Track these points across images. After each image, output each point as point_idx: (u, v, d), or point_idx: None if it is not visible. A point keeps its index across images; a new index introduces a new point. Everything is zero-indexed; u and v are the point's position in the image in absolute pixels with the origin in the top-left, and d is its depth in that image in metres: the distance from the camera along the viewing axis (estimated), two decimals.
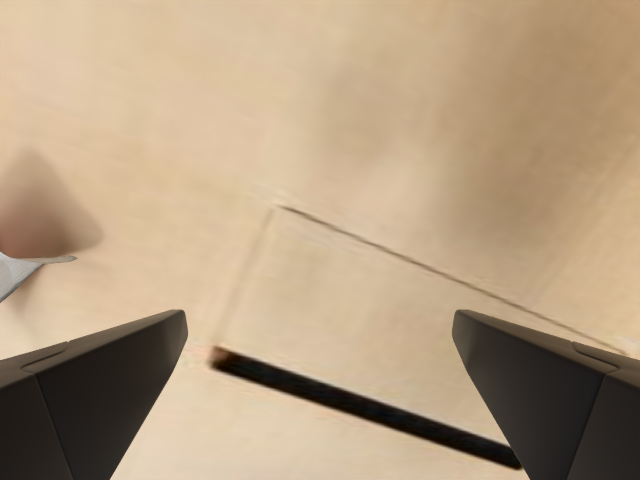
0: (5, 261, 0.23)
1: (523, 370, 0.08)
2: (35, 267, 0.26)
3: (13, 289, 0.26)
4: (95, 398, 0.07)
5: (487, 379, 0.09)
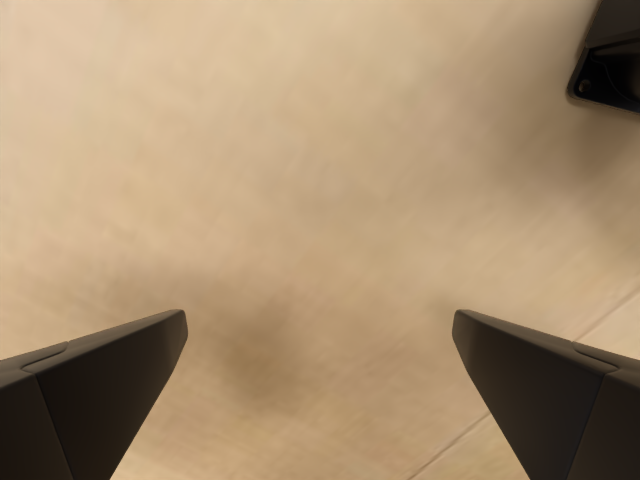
0: None
1: (523, 370, 0.08)
2: None
3: None
4: (95, 398, 0.07)
5: (487, 379, 0.09)
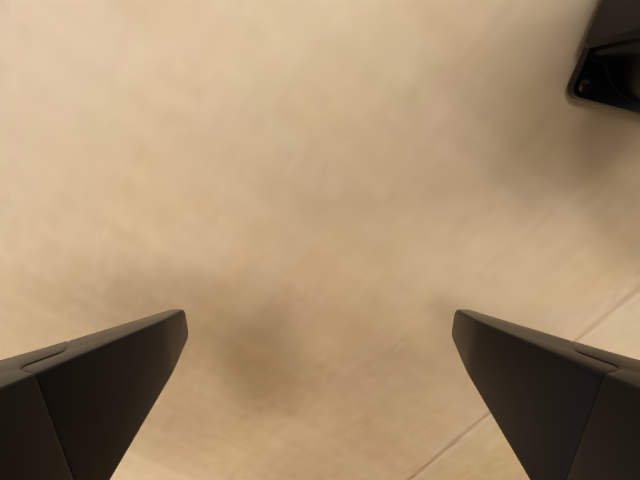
0: None
1: (523, 370, 0.08)
2: None
3: None
4: (95, 398, 0.07)
5: (487, 379, 0.09)
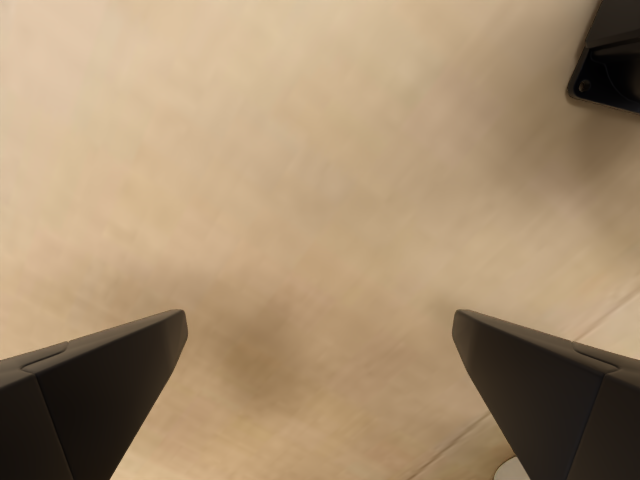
0: None
1: (523, 370, 0.08)
2: None
3: None
4: (95, 398, 0.07)
5: (487, 379, 0.09)
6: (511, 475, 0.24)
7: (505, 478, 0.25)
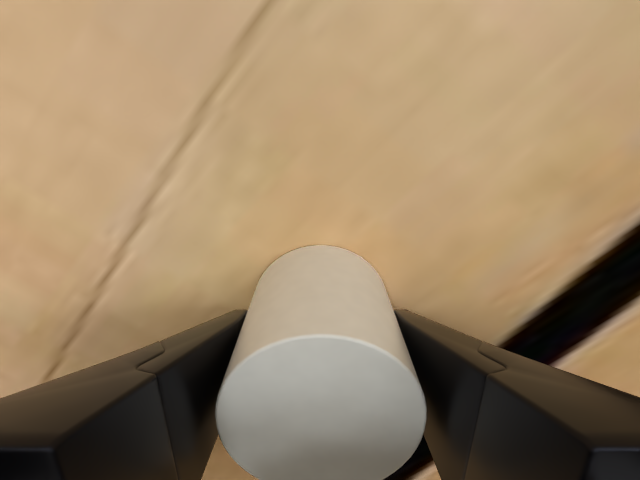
0: None
1: (435, 370, 0.08)
2: None
3: None
4: (193, 398, 0.07)
5: None
6: (261, 282, 0.11)
7: (254, 293, 0.11)
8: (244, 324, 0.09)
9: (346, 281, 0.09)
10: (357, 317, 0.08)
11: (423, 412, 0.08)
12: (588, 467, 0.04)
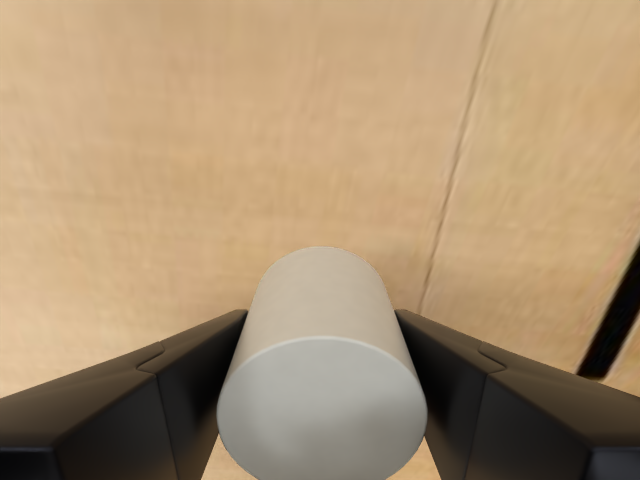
0: None
1: (434, 370, 0.08)
2: None
3: None
4: (193, 398, 0.07)
5: None
6: (262, 283, 0.11)
7: (255, 294, 0.11)
8: (245, 325, 0.09)
9: (346, 283, 0.09)
10: (358, 318, 0.08)
11: (423, 414, 0.08)
12: (587, 467, 0.04)
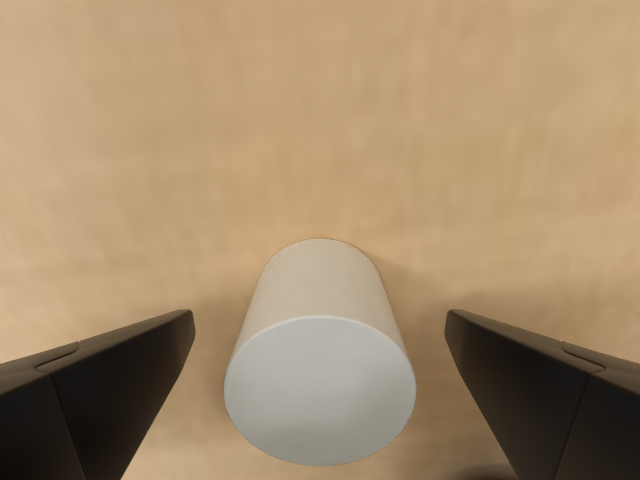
0: None
1: (512, 370, 0.08)
2: None
3: None
4: (107, 398, 0.07)
5: (478, 379, 0.09)
6: (264, 273, 0.12)
7: (257, 283, 0.12)
8: (249, 310, 0.10)
9: (343, 271, 0.10)
10: (353, 301, 0.09)
11: (413, 387, 0.08)
12: None
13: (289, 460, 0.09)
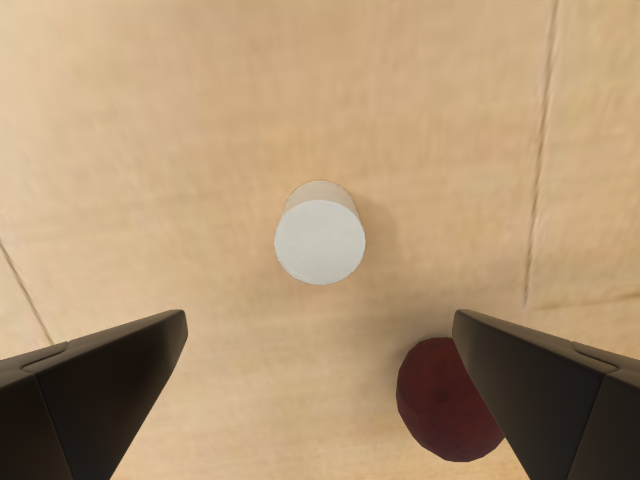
0: None
1: (523, 370, 0.08)
2: None
3: None
4: (95, 398, 0.07)
5: (487, 379, 0.09)
6: (289, 198, 0.21)
7: (285, 205, 0.22)
8: (283, 210, 0.20)
9: (332, 190, 0.20)
10: (335, 198, 0.18)
11: (363, 238, 0.18)
12: None
13: (304, 281, 0.19)
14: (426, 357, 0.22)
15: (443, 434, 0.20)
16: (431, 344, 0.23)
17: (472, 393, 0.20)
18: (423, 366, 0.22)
